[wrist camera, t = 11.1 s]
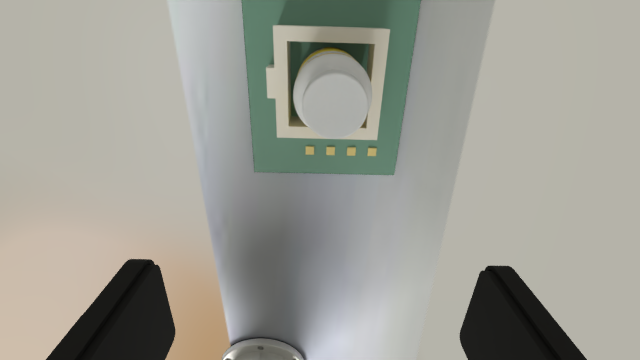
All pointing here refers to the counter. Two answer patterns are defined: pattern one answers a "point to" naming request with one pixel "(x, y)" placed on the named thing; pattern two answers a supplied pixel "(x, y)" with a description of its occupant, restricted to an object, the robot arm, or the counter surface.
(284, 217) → the counter surface
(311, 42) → the board
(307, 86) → the supplement bottle
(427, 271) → the counter surface
